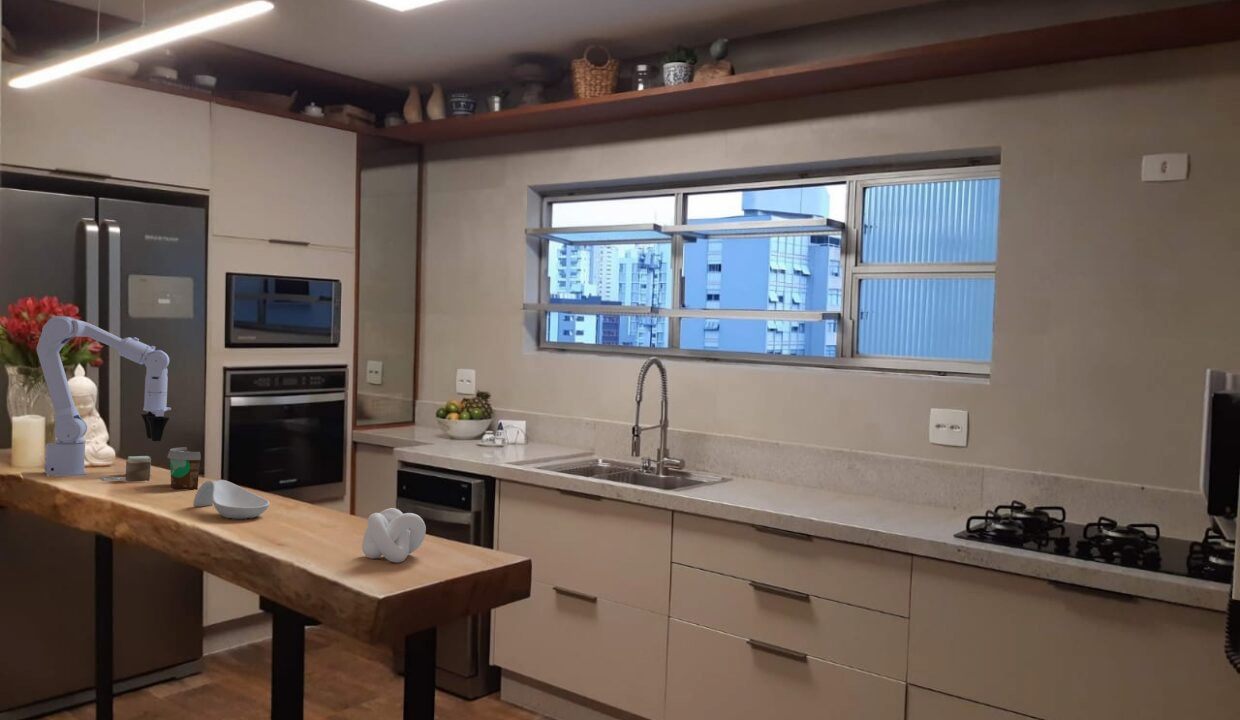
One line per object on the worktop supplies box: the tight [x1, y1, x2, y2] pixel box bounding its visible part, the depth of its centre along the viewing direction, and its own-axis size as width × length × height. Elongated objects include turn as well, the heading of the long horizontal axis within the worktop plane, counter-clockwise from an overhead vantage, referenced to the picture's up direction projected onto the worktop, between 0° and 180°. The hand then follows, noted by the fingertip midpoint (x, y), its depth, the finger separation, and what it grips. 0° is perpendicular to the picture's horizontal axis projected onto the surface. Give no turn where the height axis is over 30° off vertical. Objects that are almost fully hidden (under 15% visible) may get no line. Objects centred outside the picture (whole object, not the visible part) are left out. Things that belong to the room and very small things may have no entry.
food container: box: [167, 446, 202, 491], centre depth 239 cm, size 12×6×10 cm, turn 42°
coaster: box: [122, 478, 153, 484], centre depth 244 cm, size 7×7×1 cm
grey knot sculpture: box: [361, 507, 427, 564], centre depth 172 cm, size 11×12×9 cm
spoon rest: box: [192, 479, 271, 520], centre depth 207 cm, size 24×12×7 cm, turn 52°
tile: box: [99, 476, 126, 482], centre depth 246 cm, size 6×6×1 cm
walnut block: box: [125, 460, 151, 482], centre depth 244 cm, size 5×5×5 cm
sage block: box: [127, 455, 152, 471], centre depth 254 cm, size 5×5×5 cm
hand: (154, 439), depth 259 cm, fingers open, 7 cm apart
